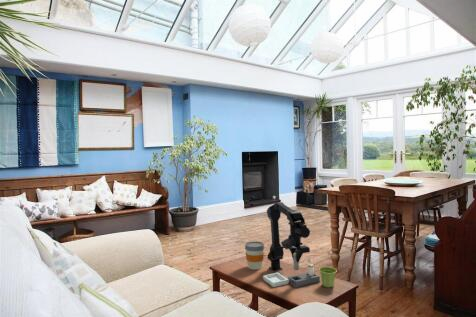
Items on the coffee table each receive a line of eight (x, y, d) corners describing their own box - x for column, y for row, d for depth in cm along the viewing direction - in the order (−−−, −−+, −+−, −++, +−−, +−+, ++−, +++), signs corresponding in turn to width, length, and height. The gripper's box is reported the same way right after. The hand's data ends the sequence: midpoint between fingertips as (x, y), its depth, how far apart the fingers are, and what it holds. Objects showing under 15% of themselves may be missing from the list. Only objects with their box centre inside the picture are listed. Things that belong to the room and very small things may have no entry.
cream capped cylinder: (292, 268, 176) (291, 252, 176) (297, 267, 177) (296, 252, 177) (295, 270, 173) (295, 254, 173) (300, 269, 174) (299, 253, 174)
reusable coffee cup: (243, 265, 207) (242, 242, 207) (260, 262, 211) (259, 240, 210) (249, 271, 195) (248, 248, 195) (267, 268, 199) (267, 245, 198)
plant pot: (338, 283, 173) (338, 268, 173) (334, 290, 165) (334, 274, 165) (322, 280, 178) (321, 265, 178) (317, 287, 170) (317, 271, 170)
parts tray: (263, 279, 182) (262, 275, 182) (277, 276, 186) (277, 272, 186) (273, 287, 171) (273, 283, 171) (288, 283, 175) (288, 279, 175)
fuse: (307, 279, 180) (306, 264, 180) (311, 278, 181) (311, 263, 181) (310, 281, 177) (310, 266, 177) (315, 280, 178) (314, 265, 178)
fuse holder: (288, 281, 178) (288, 276, 178) (311, 276, 184) (311, 271, 184) (296, 287, 170) (296, 281, 170) (319, 281, 177) (319, 276, 177)
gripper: (274, 231, 180) (275, 258, 180) (292, 239, 163) (293, 269, 163) (290, 229, 185) (291, 255, 185) (310, 236, 167) (310, 265, 168)
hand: (296, 261), depth 175 cm, fingers closed on cream capped cylinder, 3 cm apart
